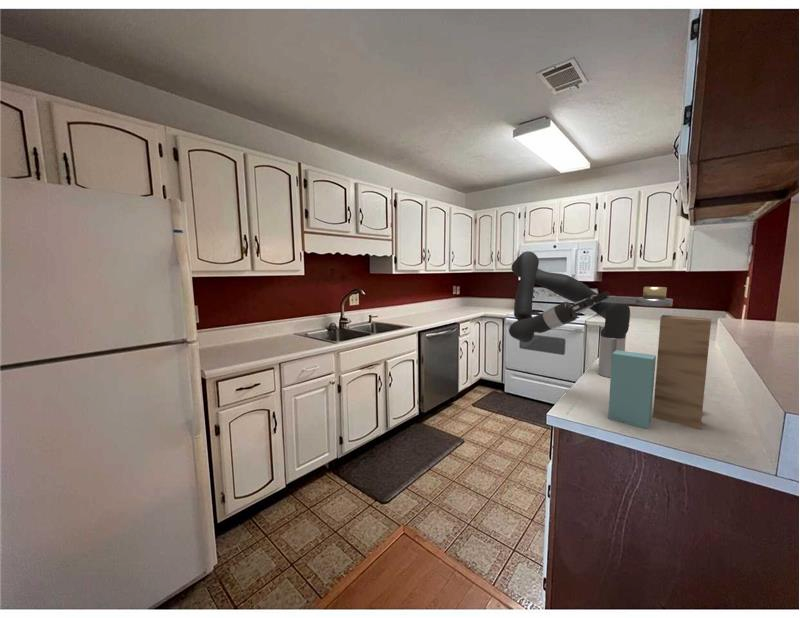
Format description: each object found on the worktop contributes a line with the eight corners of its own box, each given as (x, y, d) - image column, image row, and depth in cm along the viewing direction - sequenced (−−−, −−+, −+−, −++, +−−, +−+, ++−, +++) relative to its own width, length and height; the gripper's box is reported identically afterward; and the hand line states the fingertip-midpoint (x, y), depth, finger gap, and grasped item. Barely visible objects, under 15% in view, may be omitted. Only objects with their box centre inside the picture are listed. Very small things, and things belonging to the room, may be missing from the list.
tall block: (612, 412, 104) (616, 350, 102) (650, 422, 97) (655, 355, 95) (608, 418, 100) (612, 353, 98) (647, 428, 93) (653, 359, 91)
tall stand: (655, 411, 105) (663, 314, 101) (701, 422, 97) (711, 318, 93) (652, 417, 100) (660, 317, 96) (700, 429, 93) (711, 320, 89)
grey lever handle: (595, 299, 115) (596, 284, 114) (673, 304, 100) (675, 287, 99) (588, 302, 108) (589, 285, 108) (670, 307, 93) (672, 288, 93)
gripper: (547, 308, 116) (596, 285, 104) (560, 304, 125) (606, 283, 114) (557, 327, 114) (608, 306, 102) (570, 322, 124) (617, 302, 112)
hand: (607, 294), depth 108 cm, fingers closed on grey lever handle, 3 cm apart
